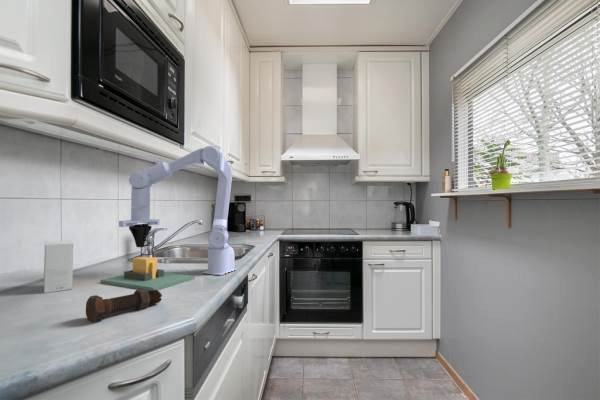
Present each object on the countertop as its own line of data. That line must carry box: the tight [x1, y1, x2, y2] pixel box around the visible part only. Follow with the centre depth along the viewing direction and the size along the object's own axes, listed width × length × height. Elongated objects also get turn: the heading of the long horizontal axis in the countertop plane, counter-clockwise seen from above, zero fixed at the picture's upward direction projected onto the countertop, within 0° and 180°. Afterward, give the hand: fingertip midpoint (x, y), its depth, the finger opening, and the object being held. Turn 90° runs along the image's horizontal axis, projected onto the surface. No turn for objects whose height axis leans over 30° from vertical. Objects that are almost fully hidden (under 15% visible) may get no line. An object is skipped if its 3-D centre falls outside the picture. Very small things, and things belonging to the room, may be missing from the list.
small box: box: [43, 240, 74, 294], centre depth 91 cm, size 8×6×13 cm
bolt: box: [85, 289, 163, 324], centre depth 72 cm, size 6×5×15 cm
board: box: [100, 268, 195, 291], centre depth 100 cm, size 16×22×3 cm
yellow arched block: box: [132, 256, 158, 279], centre depth 100 cm, size 4×7×6 cm, turn 66°
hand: (140, 247), depth 108 cm, fingers closed
